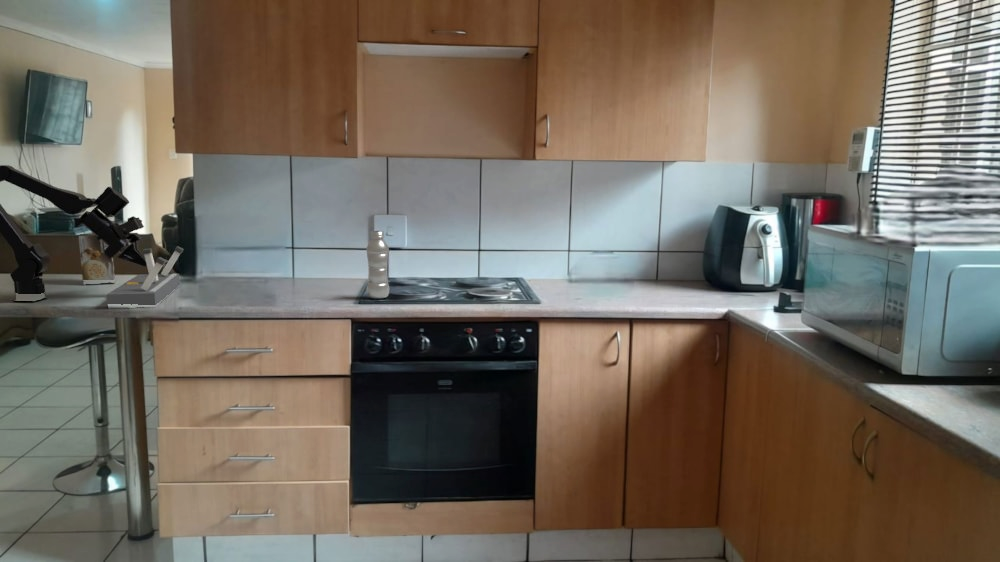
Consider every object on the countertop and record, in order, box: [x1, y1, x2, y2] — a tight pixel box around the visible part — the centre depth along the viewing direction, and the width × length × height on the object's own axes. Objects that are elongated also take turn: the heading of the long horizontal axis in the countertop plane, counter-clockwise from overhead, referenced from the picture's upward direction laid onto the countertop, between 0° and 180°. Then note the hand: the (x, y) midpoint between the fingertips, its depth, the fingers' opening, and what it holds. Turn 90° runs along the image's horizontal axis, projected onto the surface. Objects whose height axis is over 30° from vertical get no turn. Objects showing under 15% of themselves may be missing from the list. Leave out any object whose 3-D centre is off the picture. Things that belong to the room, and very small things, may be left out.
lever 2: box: [160, 245, 185, 276], centre depth 225 cm, size 2×3×10 cm
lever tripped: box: [141, 247, 159, 282], centre depth 211 cm, size 2×3×10 cm
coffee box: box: [78, 233, 116, 281], centre depth 233 cm, size 9×6×16 cm
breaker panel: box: [105, 273, 181, 305], centre depth 212 cm, size 12×35×4 cm, turn 14°
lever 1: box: [141, 256, 168, 291], centre depth 200 cm, size 2×3×10 cm
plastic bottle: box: [365, 230, 390, 300], centre depth 212 cm, size 6×7×20 cm
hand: (147, 265), depth 211 cm, fingers closed, pressing on lever tripped
